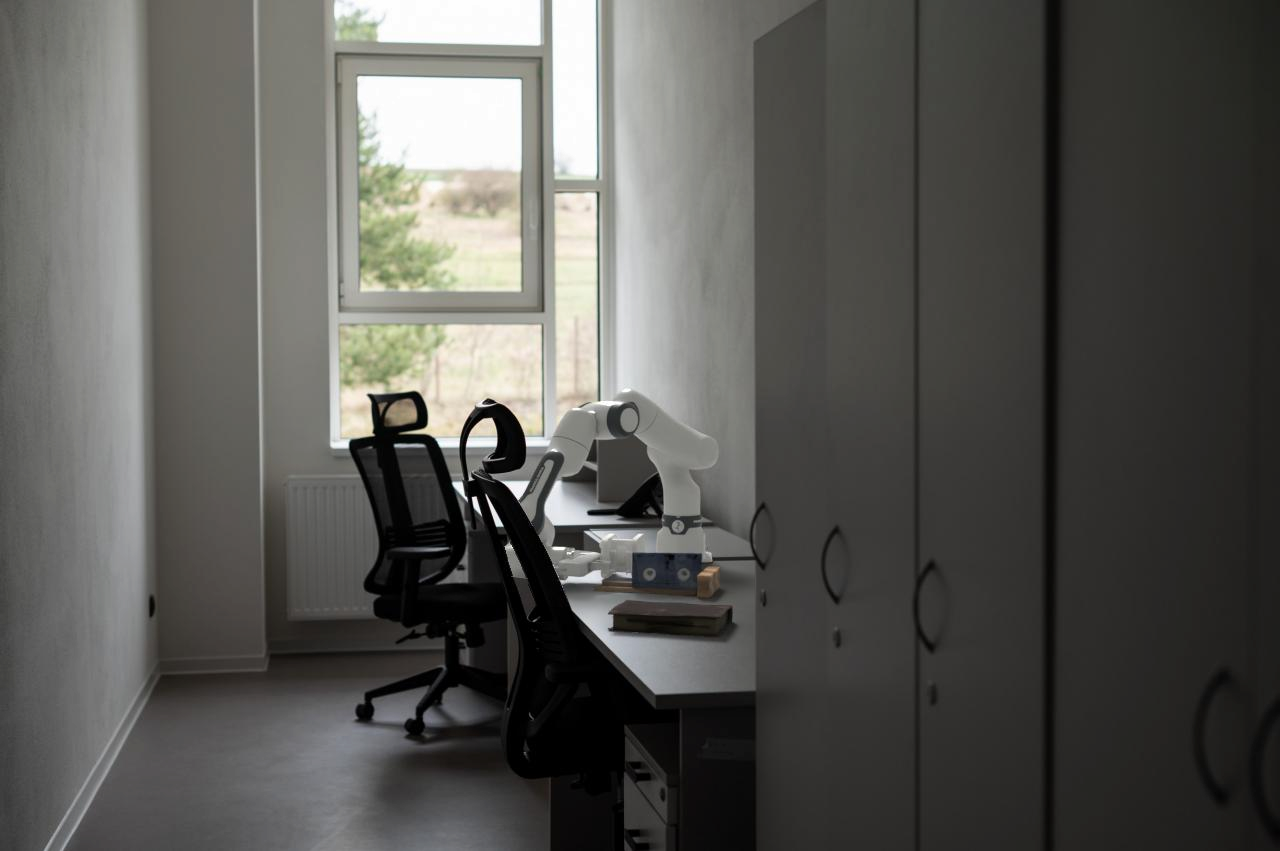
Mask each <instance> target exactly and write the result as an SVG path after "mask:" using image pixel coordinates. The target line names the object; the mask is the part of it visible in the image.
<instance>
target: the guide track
mask: <svg viewBox="0 0 1280 851" xmlns="http://www.w3.org/2000/svg"><path fill="white" fill-rule="evenodd" d="M720 570H721V566H710V565H709V566H707V567H706V568H704V569H702V572H701V573H700V574H699V575H697V591H692V590H672V589H652V588H632V581H622V580H621V581H620V580H602V581H601V585H593V591H595V592H597V591H598V592H599V591H600V592H616V593H617V592H618V593H620V592H621V593H639V594H655V595H656V594H658V595H659V594H660V595H677V596H680V595H681V596H696V598H697V599H710V598H711V597H712V596H713V595H714V594H715V593H716V592H717V591H718V590H719V589H720Z"/></svg>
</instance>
